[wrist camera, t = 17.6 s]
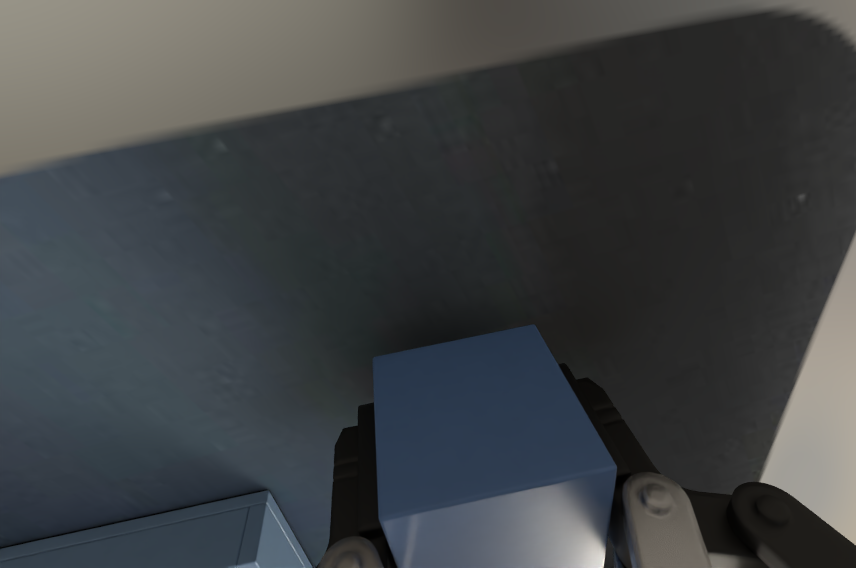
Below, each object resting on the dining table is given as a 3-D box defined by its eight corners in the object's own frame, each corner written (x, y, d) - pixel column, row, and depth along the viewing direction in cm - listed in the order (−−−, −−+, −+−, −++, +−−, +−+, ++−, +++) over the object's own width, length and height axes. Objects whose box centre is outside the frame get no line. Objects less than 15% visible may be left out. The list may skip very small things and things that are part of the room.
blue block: (535, 322, 12) (619, 467, 8) (537, 430, 14) (603, 582, 10) (371, 356, 12) (377, 520, 8) (401, 459, 14) (418, 624, 10)
